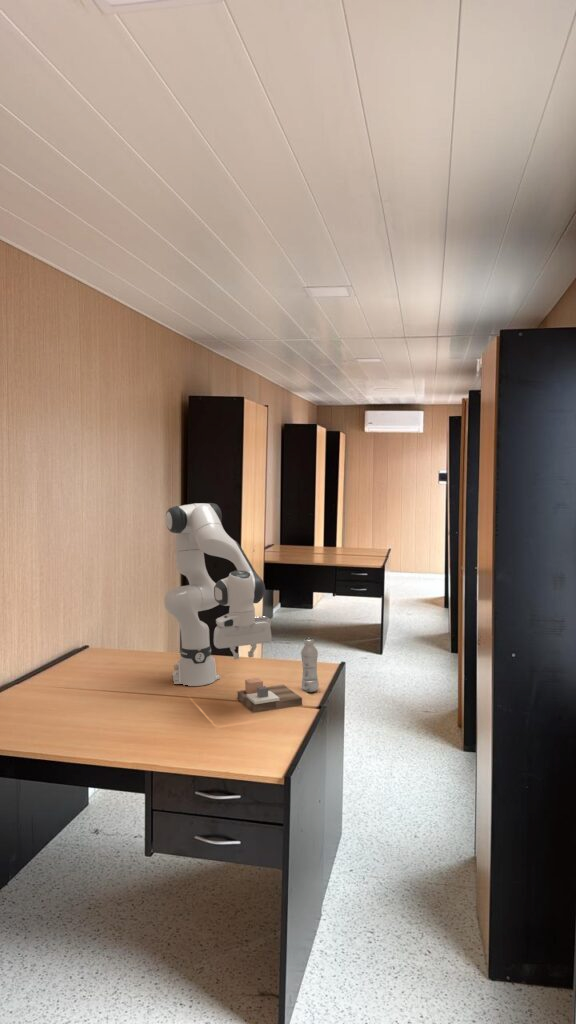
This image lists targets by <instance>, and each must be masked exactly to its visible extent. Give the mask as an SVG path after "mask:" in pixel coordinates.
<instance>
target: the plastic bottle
mask: <svg viewBox="0 0 576 1024" xmlns="http://www.w3.org/2000/svg"><path fill="white" fill-rule="evenodd" d="M314 641H315V640H314V638H312V637H305V638H303V644H304V646H303V647H302V649H301V651H300V657H301V663H302V679H301V689H302V691H303V692H305V693H313V692H317V691H318V689H319V687H320V686H319V679H318V672H317V669H318V657H319V656H318V655H319V652H318V649H317V648H316V646H315V642H314Z"/></svg>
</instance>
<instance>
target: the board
mask: <svg viewBox="0 0 576 1024" xmlns="http://www.w3.org/2000/svg"><path fill="white" fill-rule="evenodd" d="M266 687H267V688H268V691H271V692H272V693H274V694H275V695H276V696H278V697H279V701H274V702H267V703H261V704H254V703H253V702H251V701H250V700H249V699H248V698H247V697H246V690H245V689H243V690H237V691H236V693H237V699H238V700H239V702H241V703H242V704H243V705H244V706H246V708H248V710H250V711H251V712H252V713H261V712H268V711H274V710H279V709H280V710H281V709H286V708H292V707H299V706H303V698H302V696H300V695H298V694H297V693H295V691H293V690H292V689H290V688H289V687H288V686H286V685H284V684H278V685H271V686H266Z"/></svg>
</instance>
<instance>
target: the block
mask: <svg viewBox="0 0 576 1024" xmlns="http://www.w3.org/2000/svg"><path fill="white" fill-rule="evenodd" d="M244 684H245V686H244V687H245V689H244V690H246V694H252V693H257V687H261V686H264V681H263V680H262V679H260V678H259V677H256V678H255V677H254V678H246V679H244Z"/></svg>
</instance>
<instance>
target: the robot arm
mask: <svg viewBox="0 0 576 1024" xmlns="http://www.w3.org/2000/svg"><path fill="white" fill-rule="evenodd" d="M222 515H223V513H222V510H221V508H220V507H219V505H218V504H216V503H212V502H207V503H205V502H204V503H203V502H201V503H199V502H198V503H197V502H195V503H189V504H183V505H174V506H171V507H169V508H168V509H167V511H166V513H165V524H166V527H167V529H168V531H169V532H171V533H173V534H175V535H174V551H175V561H176V563H175V564H176V569H177V572H178V573H180V574H181V575H183V576H184V577H186V579H187V581H188V584H187V585H180V586H177V587H175V588H172V589H170V590H168V591H167V592H166V593H165V596H164V600H163V603H164V608H165V609H166V611H167V612H168V613H169V614H170V615H172V616H173V617H174V618H175V619H176V622H177V623H178V626H179V630H180V637H181V638H180V640H181V647H180V657H179V659H178V661H177V664H176V663H175V664H173V670H174V672H172V681H174V683H175V684H183V685H182V686H185V685H188V686H187V687H198V686H199V687H200V686H205V685H209V684H212V683H215V681H217V680H220V678H221V676H220V675H219V674H217V671H216V670H217V669H216V659H215V658H214V657H213V656H212V655H211V654H212V647H211V644H210V643H211V642H210V628H209V626H208V624H207V623H205V622H204V621H203V620H200V617H199V612H202V611H208V610H210V609H213V608H215V607H217V606H219V605H220V606H223V607H227V606H228V607H229V608H228V609H229V610H228V613H226V614H224V615H222V616H220V617H217V618H216V619H215V624H216V627H215V628H214V631H213V645H214V647H215V648H216V649H228V648H229V650H230V651H231V653H232V655H233V660H240V654H239V653H238V652H236V651H235V650H236V649H237V647H243V646H251V649H250V651H248V652H247V656H248V658H254V653H255V651H256V649H257V645H259V644H267V643H268V644H269V643H271V641H272V639H273V637H272V629H271V626H272V621H271V618H270V617H269V616H267V615H263V616H256V611H255V610H256V609H255V605H254V604H259V603H260V601H262V599H263V598H264V596H265V595H266V586H265V585H266V584H265V583H264V580H263V579H262V578H261V576H259V574H258V573H257V572H256V570H255V569H254V567H253V565H252V563H251V561H250V560H249V558H248V557H247V554H246V553H245V551H244V549H243V548H242V547H241V545H240V544H239V543H238V541H237V540H234V539H233V538H232V537H231V536H230V535H229V534H228V533H227V532H226V531H225V529H224V526H223V524H222V519H223V516H222ZM205 554H207V555H209V556H212V557H218V558H221V559H222V558H223V559H226V560H228V561H230V562H231V563H233V565H234V567H235V568H236V570H233V571H231V572H230V573H229V574H228V576H227V577H225V578H222V579H219V580H218V581H217V582H215V581H214V580H213V579H212V577H211V576H210V575H209V573H208V570H207V567H206V562H205V561H206V559H205ZM174 683H173V684H174Z"/></svg>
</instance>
